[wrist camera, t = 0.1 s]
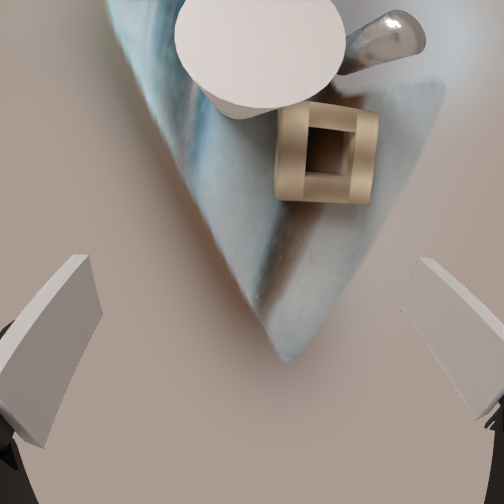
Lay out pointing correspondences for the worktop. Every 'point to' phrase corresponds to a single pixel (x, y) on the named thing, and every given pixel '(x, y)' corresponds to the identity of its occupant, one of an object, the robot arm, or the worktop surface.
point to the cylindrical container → (259, 51)
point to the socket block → (352, 162)
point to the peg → (382, 42)
